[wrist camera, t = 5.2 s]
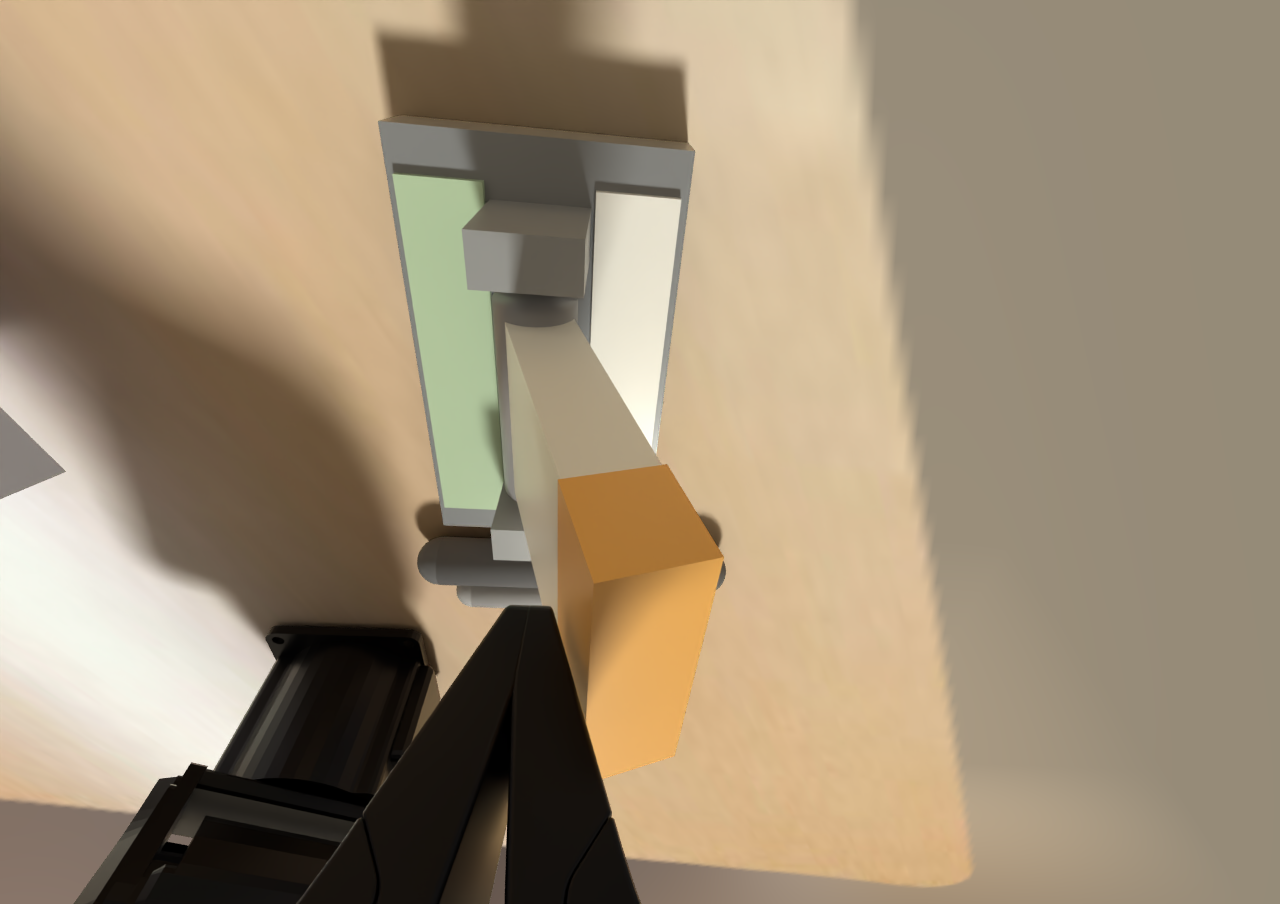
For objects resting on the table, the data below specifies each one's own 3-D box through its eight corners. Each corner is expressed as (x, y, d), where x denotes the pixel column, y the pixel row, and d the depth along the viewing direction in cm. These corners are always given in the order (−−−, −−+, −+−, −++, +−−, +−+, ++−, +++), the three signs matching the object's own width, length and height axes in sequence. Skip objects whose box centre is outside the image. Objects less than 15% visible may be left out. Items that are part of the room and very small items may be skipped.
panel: (455, 495, 20) (419, 589, 17) (401, 114, 13) (320, 135, 10) (644, 504, 21) (649, 596, 17) (688, 142, 14) (711, 171, 10)
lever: (500, 467, 17) (573, 795, 9) (486, 285, 13) (581, 571, 6) (565, 459, 17) (680, 760, 10) (567, 282, 14) (738, 540, 7)
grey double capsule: (433, 585, 23) (420, 621, 22) (422, 525, 21) (407, 560, 20) (711, 595, 24) (717, 630, 22) (725, 538, 22) (733, 573, 20)
